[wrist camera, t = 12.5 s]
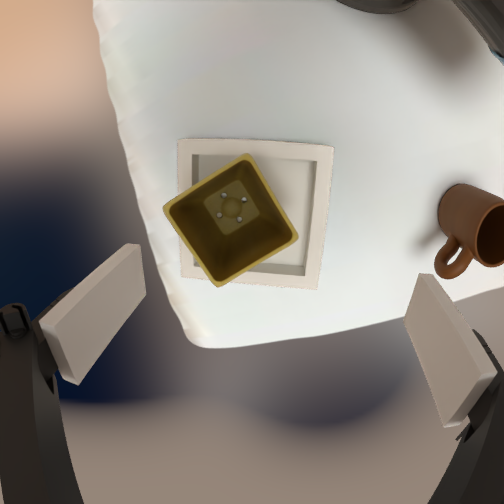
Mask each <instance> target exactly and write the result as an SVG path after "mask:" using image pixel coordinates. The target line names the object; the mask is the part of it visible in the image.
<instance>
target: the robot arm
mask: <svg viewBox="0 0 504 504" xmlns="http://www.w3.org/2000/svg"><path fill="white" fill-rule="evenodd" d="M337 1H339V2H341V3H343V4H345V5H348V6H350V7H353V8H356V9H359V10H362V11H366V12H371V13H379V14H390V13H397V12H401V11H404V10H406V9H408V8H410V7H411V6H412V5H413V4H415V3H416V2H417V1H418V0H337ZM452 1H453V3H454V4H455V5H456V6H457V7H458V8H459V9H460V10H461V11H462V12H463V14H464V15H465V16H466V17H467V18H468V19H469V21H470V22H471V23H472V24H473V26H474V27H475V28H476V29H477V31H478V32H479V33H480V35H481V36H482V37H483V39H484V40H485V41H486V43H487V44H488V47H489V49H490V51H491V52H492V54H493V55H494V56H495V57H497V58H498V59H499V60H500V62H501V63H502V64H503V66H504V0H452ZM145 295H146V290H145V283H144V275H143V266H142V257H141V248H140V245H137V244H125V245H124V246H123V247H122V248H120V250H118V251H117V252H116V253H114V254H113V255H112V256H111V257H110V258H108V259H107V260H106V261H105V262H104V263H102V264H101V265H100V266H99V267H98V268H97V269H95V270H94V271H93V272H92V273H91V274H90V275H89V276H87V277H86V278H85V279H84V280H83V281H82V282H81V283H79V284H78V285H77V286H76V287H75V288H72V289H70V290H68V291H66V292H64V293H62V294H61V295H60V296H59V297H58V298H57V299H56V301H53V302H52V303H51V304H50V306H48V307H47V308H46V309H45V310H44V311H43V312H42V313H41V314H39V315H38V316H37V317H36V318H35V319H34V320H33V321H32V322H31V321H30V318H29V316H28V313H27V310H26V308H25V306H24V305H23V304H20V303H12V304H9V305H6V306H5V307H3V308H1V310H0V329H1V331H2V332H0V479H1V487H2V494H3V500H4V504H84V502H83V499H82V496H81V493H80V490H79V487H78V484H77V481H76V477H75V473H74V470H73V467H72V463H71V459H70V454H69V451H68V446H67V441H66V437H65V432H64V427H63V422H62V416H61V410H60V404H59V397H58V389H57V382H56V378H55V376H54V373H55V372H56V370H57V369H59V371H60V373H61V375H62V377H63V379H64V380H67V381H69V382H72V383H74V384H77V385H79V384H80V382H81V381H82V379H83V378H84V377H85V375H86V374H87V372H88V371H89V370H90V368H91V367H92V365H93V364H94V363H95V361H96V360H97V358H98V357H99V356H100V354H101V353H102V352H103V350H104V349H105V347H106V346H107V345H108V343H109V342H110V341H111V339H112V338H113V337H114V335H115V334H116V333H117V331H118V330H119V329H120V327H121V326H122V325H123V324H124V322H125V321H126V320H127V318H128V317H129V316H130V314H131V313H132V312H133V310H134V309H135V308H136V307H137V305H138V304H139V303H140V301H141V300H142V299H143V298H144V296H145ZM403 323H404V325H405V327H406V330H407V332H408V334H409V337H410V339H411V341H412V344H413V345H414V349H415V351H416V353H417V355H418V358H419V361H420V363H421V366H422V368H423V371H424V374H425V376H426V379H427V382H428V384H429V387H430V390H431V393H432V395H433V398H434V401H435V404H436V407H437V410H438V412H439V416H440V419H441V422H442V425H443V427H444V428H445V427H451V426H457V425H460V424H461V422H462V421H463V420H464V419H465V417H466V416H467V415H468V417H469V419H470V423H469V424H468V425H467V426H466V427H465V429H464V430H463V431H462V432H461V434H460V435H459V436H458V437H457V438H456V440H457V441H458V439H460V437H462V438H461V440H460V442H459V445H458V447H457V449H456V451H455V453H454V455H453V458H452V460H451V462H450V464H449V466H448V468H447V470H446V472H445V474H444V476H443V477H442V479H441V481H440V483H439V485H438V487H437V488H436V490H435V492H434V494H433V495H432V497H431V499H430V500H429V502H428V504H504V371H503V369H502V368H501V366H500V364H499V363H498V361H497V359H496V358H495V356H494V355H493V354H492V351H491V350H490V348H489V347H488V345H487V343H486V342H485V340H484V339H483V337H482V336H481V335H480V334H479V333H477V332H476V331H475V330H474V329H473V330H472V329H471V328H470V326H469V325H468V323H467V322H466V320H465V319H464V317H463V316H462V315H461V313H460V312H459V310H458V309H457V307H456V306H455V305H454V303H453V302H452V300H451V299H450V297H449V296H448V295H447V293H446V292H445V291H444V289H443V288H442V286H441V285H440V284H439V282H438V281H437V280H436V278H435V277H434V276H433V275H432V274H422V273H419V275H418V278H417V282H416V285H415V288H414V291H413V294H412V297H411V300H410V303H409V306H408V309H407V312H406V314H405V317H404V320H403Z"/></svg>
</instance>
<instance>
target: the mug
mask: <svg viewBox="0 0 504 504" xmlns="http://www.w3.org/2000/svg"><path fill="white" fill-rule="evenodd" d="M439 223H440V226H441V228H442V230H443V232H444V233H445V234H446V236H447V237H449V238H448V240H447V242H446V244H445V245H444V246H443V247H442V248H441V249H440V250H439V252H438V253H437V255H436V257H435V262H434V268H435V271H436V273H437V274H438V275H439V276H440V277H441V278H444V279H453V278H455V277H457V276H459V275H460V274H462V273H463V272H464V271H465V270H466V268H467V267H468V265H469V264H470V262H471V260H472V259H473V258H474V259H475V260H476V261H478V262H480V263H481V264H482V265H484V266H486V267H497V266H500V265H502V264H503V263H504V200H503V199H502V198H500V197H498V196H496V195H493V194H491V193H489V192H486V191H484V190H481V189H479V188H476V187H474V186H471V185H468V184H459V185H456V186H454V187H452V188H451V189H449V190H448V191H447V192H446V194H445V195H444V197H443V198H442V200H441V203H440V207H439ZM459 247H460V248H462V251H461V252H460V254H459V255H458V257H457V258H456V260H455V261H454V262H453V263H451V264H449V265H447V263H448V261H449V260H450V259H451V258H452V257H453V256H454V255H455V254H456V252H457V251H458V249H459Z"/></svg>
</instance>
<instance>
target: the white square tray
mask: <svg viewBox="0 0 504 504" xmlns="http://www.w3.org/2000/svg"><path fill="white" fill-rule="evenodd" d="M244 153H249V154H250V155H251V156H252V157H253V159H254V160H255V162H256V164H257V165H258V167H259V169H260V171H261V172H262V174H263V176H264V178H265V179H266V181H267V183H268V185H269V186H270V188H271V190H272V191H273V193H274V195H275V197H276V198H277V200H278V202H279V203H280V205H281V207H282V208H283V210H284V211H285V213H286V215H287V216H288V218H289V220H290V221H291V223H292V224H293V226H294V228H295V229H296V231H297V233H298V235H299V238H298V240H297V241H296V242H295V243H293V244H292V245H290V246H289V247H287V248H285V249H284V250H282V251H280V252H278V253H277V254H275V255H273V256H271V257H270V258H268V259H266V260H265V261H263V262H261V263H260V264H258V265H256V266H255V267H253V268H251V269H250V270H248V271H246V272H245V273H243V274H241V275H240V276H238V277H236V278H235V279H233V280H232V281H230V282H232V283H243V284H254V285H265V286H276V287H288V288H301V289H314V290H317V287H318V280H319V274H320V267H321V260H322V253H323V246H324V239H325V231H326V223H327V215H328V206H329V197H330V188H331V178H332V167H333V156H334V147H332V146H329V145H320V144H310V143H299V142H286V141H271V140H252V139H219V138H188V139H179V140H178V195H179V194H181V193H183V192H184V191H186V190H187V189H189V188H190V187H192V186H193V185H195V184H196V183H198V182H199V181H201V180H202V179H204V178H206V177H207V176H209V175H210V174H212V173H214V172H215V171H217V170H218V169H220V168H221V167H223V166H224V165H226V164H228V163H229V162H231V161H232V160H234V159H236V158H237V157H239V156H240V155H242V154H244ZM221 196H222V197H223V198H225V197H226V196H227V195H226V193H222V195H221ZM241 201H242V202H246V198H242V199H241ZM221 216H222V214H221V213H218V214H217V217H221ZM241 220H242V218H241V217H238V218H237V221H238V222H240V221H241ZM179 242H180V261H181V277H184V278H193V279H202V280H209V278H208V277H207V276H206V274H205V273H204V271H203V270H202V268H201V267H200V265H199V264H198V262H197V261H196V259H195V258H194V256H193V255H192V254H191V252H190V251H189V249H188V248H187V247H186V245H185V244H184V242H183V241H182V239H181V238H180V236H179Z"/></svg>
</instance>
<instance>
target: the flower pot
mask: <svg viewBox="0 0 504 504" xmlns="http://www.w3.org/2000/svg"><path fill="white" fill-rule="evenodd" d="M222 193H226V195H227V196H226V197H225V198H223V197H222V196H221V195H222ZM242 198H246V202H242V201H241V199H242ZM163 212H164V214H165V216H166V217H167V219H168V220H169V222H170V223H171V225H172V226H173V228H174V229H175V230H176V232H177V233H178V235H179V236H180V238H181V239H182V241H183V242H184V244H185V245H186V247H187V248H188V249H189V251H190V252H191V254H192V255H193V256H194V258H195V259H196V261H197V262H198V264H199V265H200V267H201V268H202V270H203V271H204V273H205V274H206V276H207V277H208V278H209V280H210V281H211V282H212V283H213V284H214V285H215V286H216V287H221V286H223V285H225V284H227V283H228V282H230V281H232V280H233V279H235V278H236V277H238V276H240V275H241V274H243V273H245V272H246V271H248V270H250V269H251V268H253V267H255V266H256V265H258V264H260V263H261V262H263V261H265V260H266V259H268V258H270V257H271V256H273V255H275V254H277V253H278V252H280V251H282V250H284V249H285V248H287V247H289V246H290V245H292V244H293V243H295V242H296V241H297V240H298V238H299V235H298V233H297V231H296V229H295V228H294V226H293V224H292V223H291V221H290V220H289V218H288V216H287V215H286V213H285V211H284V210H283V208H282V207H281V205H280V203H279V202H278V200H277V198H276V197H275V195H274V193H273V191H272V190H271V188H270V186H269V185H268V183H267V181H266V179H265V178H264V176H263V174H262V172H261V171H260V169H259V167H258V165H257V164H256V162H255V160H254V159H253V157H252V156H251V155H250V154H249V153H244V154H242V155H240V156H239V157H237V158H236V159H234V160H232V161H231V162H229V163H228V164H226V165H224V166H223V167H221V168H220V169H218V170H217V171H215V172H214V173H212V174H210V175H209V176H207V177H206V178H204V179H202V180H201V181H199V182H198V183H196V184H195V185H193V186H192V187H190V188H189V189H187V190H186V191H184V192H183V193H181V194H179V195H178V196H177V197H175V198H173V199H172V200H170V201H169V202H168V203H166V204H165V205H164V206H163ZM218 213H221V214H222V216H221V217H217V214H218ZM238 217H241V218H242V220H241V221H240V222H238V221H237V218H238Z"/></svg>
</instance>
